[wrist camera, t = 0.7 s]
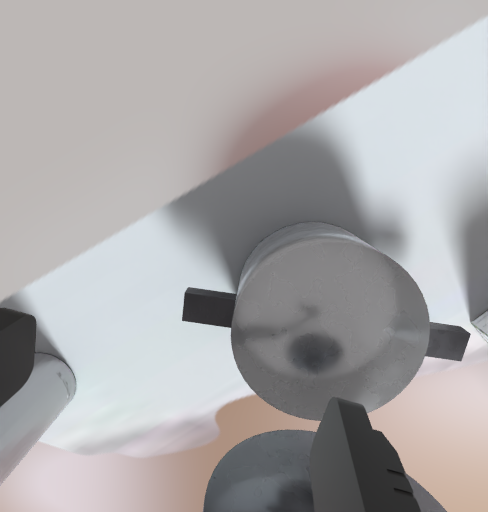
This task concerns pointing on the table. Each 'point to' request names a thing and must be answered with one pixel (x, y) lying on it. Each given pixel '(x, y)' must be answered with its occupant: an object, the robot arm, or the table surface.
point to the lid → (275, 477)
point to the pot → (325, 321)
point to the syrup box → (482, 325)
